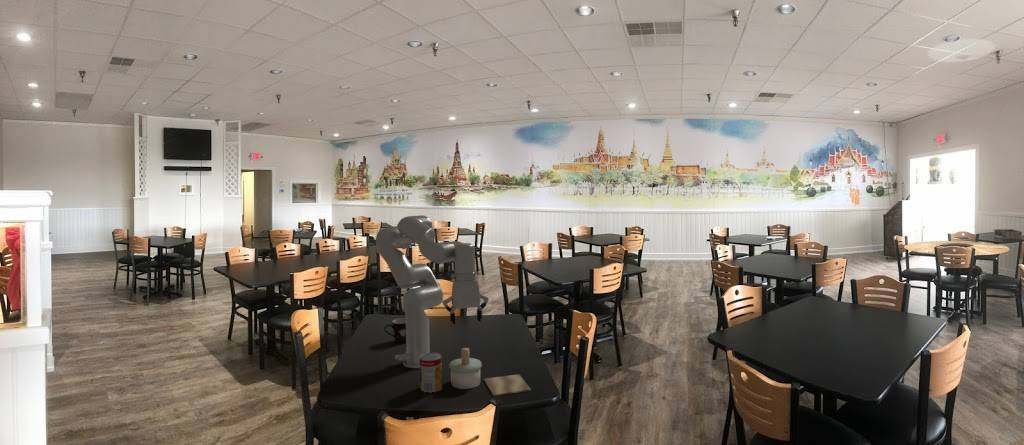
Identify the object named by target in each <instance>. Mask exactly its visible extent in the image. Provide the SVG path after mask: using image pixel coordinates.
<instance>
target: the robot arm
mask: <svg viewBox="0 0 1024 445" xmlns="http://www.w3.org/2000/svg"><path fill="white" fill-rule="evenodd" d="M435 239H436V232H435V230H434V228H433V222H432V220H431V219H430V218H429V216H426V215H410V216H409V215H408V216H405V217H402V218H401V219H400V220H399V221H398V223H397V226H387V227H383V228H381V229H379V231H378V232H377V233H376V236H375V245H376V249H377V251H378V253H379V255H380V256H381V258H382V259H383V260H384V261H385V263H386V264H387V267H388V268H389V270H390V273H391V274H392V277H393V278H394V280H395V282H396V285H397V286H398V288H400V289H401V290H402V289H404V290H406V291H405V292H404V294H403V296H402V305H403V310H404V315H405V318H406V343H405V344H406V346H405V348H406V350H405V352H404V353H402V354H395V356H394V360H395V361H398V362H402V365H403V367H405V368H408V369H420V356H421V355H422V354H425V353H431V349H430V348H431V347H430V346H431V345H430V342H431V341H430V337H431V336H430V319H429V316H428V315H427V314H426V311H425V310H428V309H431V308H436V307H437V306H440V305H441V304H442V305H443V306H444V308H445V309H446V311H448V312H449V319H450V322H452V324H453V325H455V324H456V313H455V311H456V310H457V309H470V308H471V309H472V308H477V309H476V319H477V322H481V320H482V319H483V310H484V309H485V307H487V304H488V302H489V297H487V296H485V295H482V294H481V292H480V286H479V281H478V279H477V278H476V247H475V245H474V244H473V243H469V242H461V241H457V240H453V241H446V242H435ZM413 244H416V245H417V247H418V250H419V252H420V254H421V255H422V257H424V258H425V259H427V260H428V261H430V262H432V263H435V264H445V263H450V262H454V273H453V274H451V275H450V277H451V279H454V280H453V281H452V288H451V296H449V297H447V298H446V299H444V292H443V290H442V287H441V286H440V284H439V282H438V280H437V278H436V277H435V275H434V273H433V271H432V269H431V268H430V267H429V266H428V265H427V264H425V263H415V264H413V263H410V261H409V259H408V257H407V255H406V254H405V253H404V252H403V251H402V250H401V249H399V248H397V247H399V246H400V247H401V246H406V245H407V246H408V245H413ZM407 289H408V290H407ZM481 300H483V301H482V302H481ZM450 302H451V307H450V306H449V305H448V304H449V303H450Z"/></svg>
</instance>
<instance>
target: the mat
mask: <svg viewBox="0 0 1024 445" xmlns="http://www.w3.org/2000/svg"><path fill="white" fill-rule="evenodd" d="M483 381H484V383H485V384H486V386H487V389H488V390H489V391H490V393H491V395H492V396H493V397H495V396H496V397H497V396H503V395H504V396H505V395H511V394H518V393H519V394H520V393H525V392H531V391H532V389H531V387H530V386H529V385H528V384H527V383H526V380H525V379H524V378H523V377H522V375H520V374H517V373H516V374H511V375H503V376H501V375H500V376H495V377H487V378H484V379H483Z"/></svg>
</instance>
